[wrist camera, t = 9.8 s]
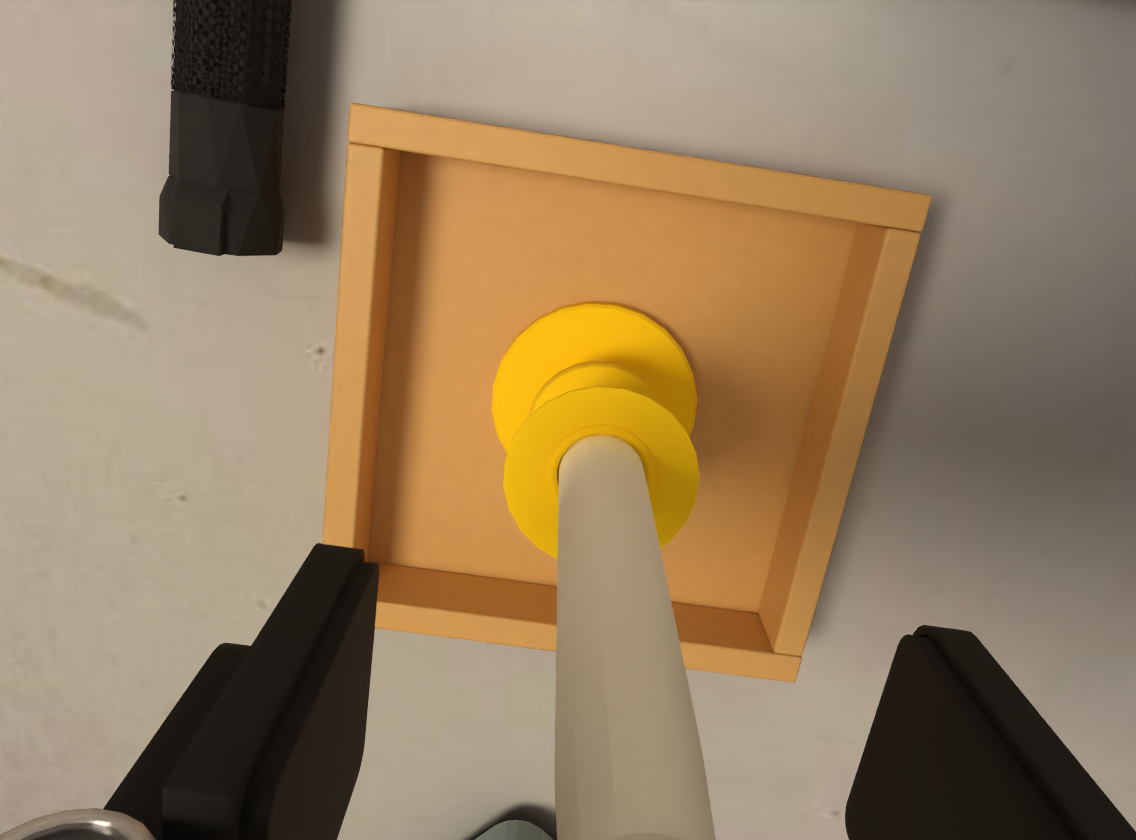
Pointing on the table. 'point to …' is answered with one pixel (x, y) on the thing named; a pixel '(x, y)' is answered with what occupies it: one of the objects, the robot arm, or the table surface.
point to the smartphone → (514, 831)
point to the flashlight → (227, 127)
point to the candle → (609, 559)
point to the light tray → (636, 280)
